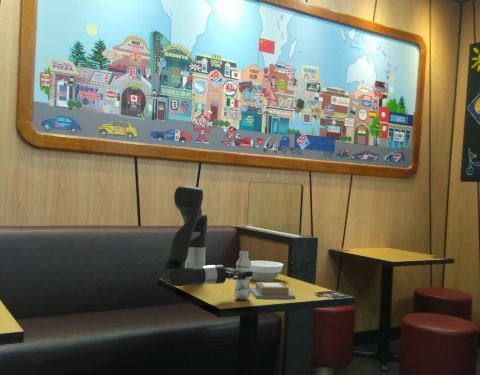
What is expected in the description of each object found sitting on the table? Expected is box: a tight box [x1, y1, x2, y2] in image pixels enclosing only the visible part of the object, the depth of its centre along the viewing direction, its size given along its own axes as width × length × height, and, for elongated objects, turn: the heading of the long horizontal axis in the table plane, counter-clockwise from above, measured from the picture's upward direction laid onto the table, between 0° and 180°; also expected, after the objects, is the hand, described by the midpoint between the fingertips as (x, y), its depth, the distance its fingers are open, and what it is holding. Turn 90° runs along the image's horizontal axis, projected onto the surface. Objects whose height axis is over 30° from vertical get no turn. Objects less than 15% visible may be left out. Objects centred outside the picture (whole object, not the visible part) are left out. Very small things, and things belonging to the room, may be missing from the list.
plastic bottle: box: [233, 250, 252, 301], centre depth 212 cm, size 6×7×20 cm
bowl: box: [250, 260, 284, 282], centre depth 259 cm, size 19×19×8 cm
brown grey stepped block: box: [249, 281, 296, 300], centre depth 224 cm, size 17×16×4 cm
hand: (247, 272), depth 213 cm, fingers closed on plastic bottle, 6 cm apart
